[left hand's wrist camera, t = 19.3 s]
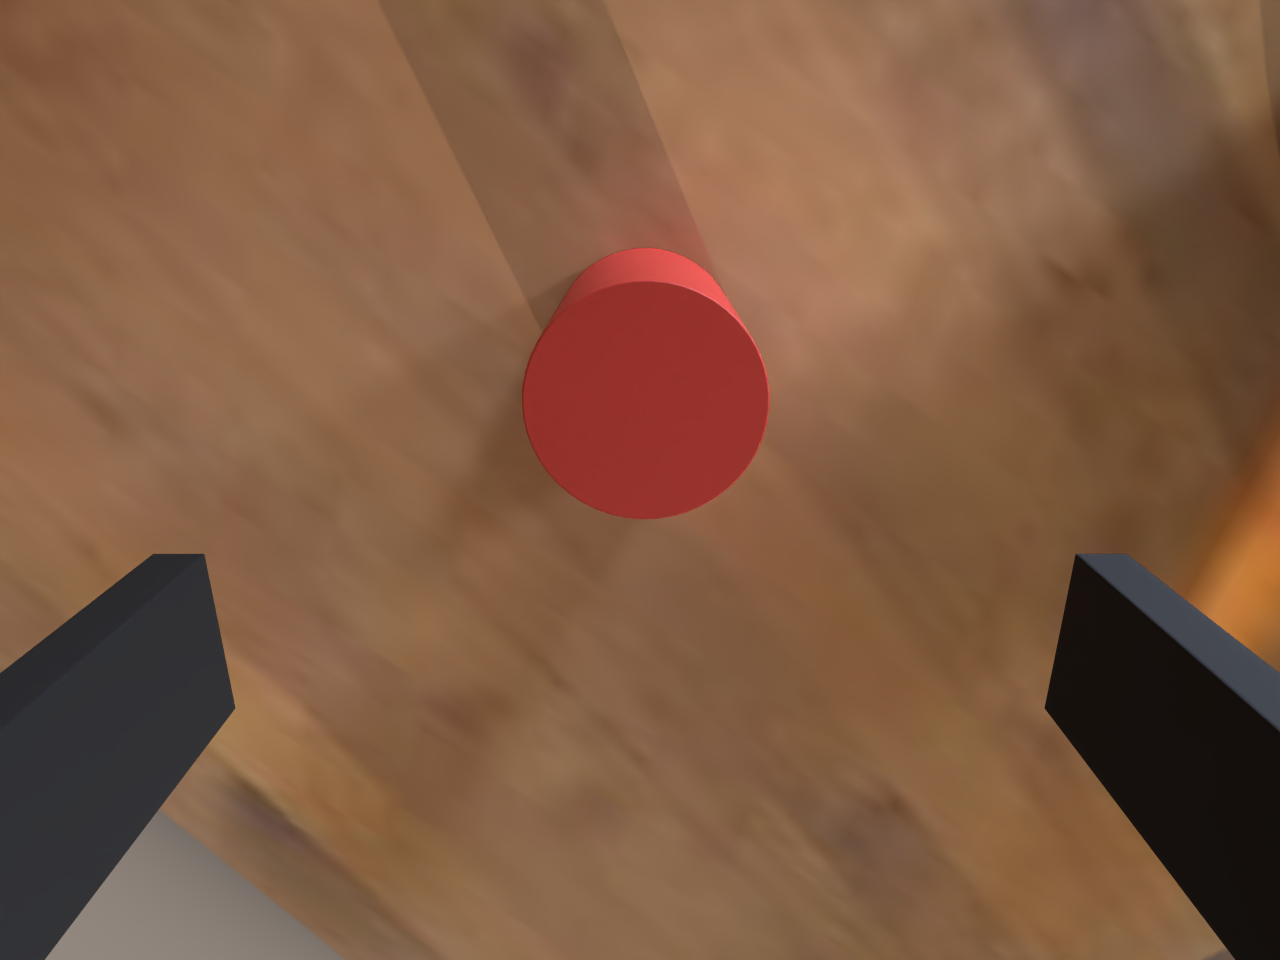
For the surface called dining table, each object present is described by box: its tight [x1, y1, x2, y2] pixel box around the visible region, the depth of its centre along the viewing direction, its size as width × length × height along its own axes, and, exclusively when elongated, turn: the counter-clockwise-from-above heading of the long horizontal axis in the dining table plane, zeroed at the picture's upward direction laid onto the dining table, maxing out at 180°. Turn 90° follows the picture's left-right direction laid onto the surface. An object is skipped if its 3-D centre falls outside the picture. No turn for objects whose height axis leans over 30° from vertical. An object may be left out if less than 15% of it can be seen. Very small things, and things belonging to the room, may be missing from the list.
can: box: [522, 248, 769, 519], centre depth 28 cm, size 7×7×10 cm
